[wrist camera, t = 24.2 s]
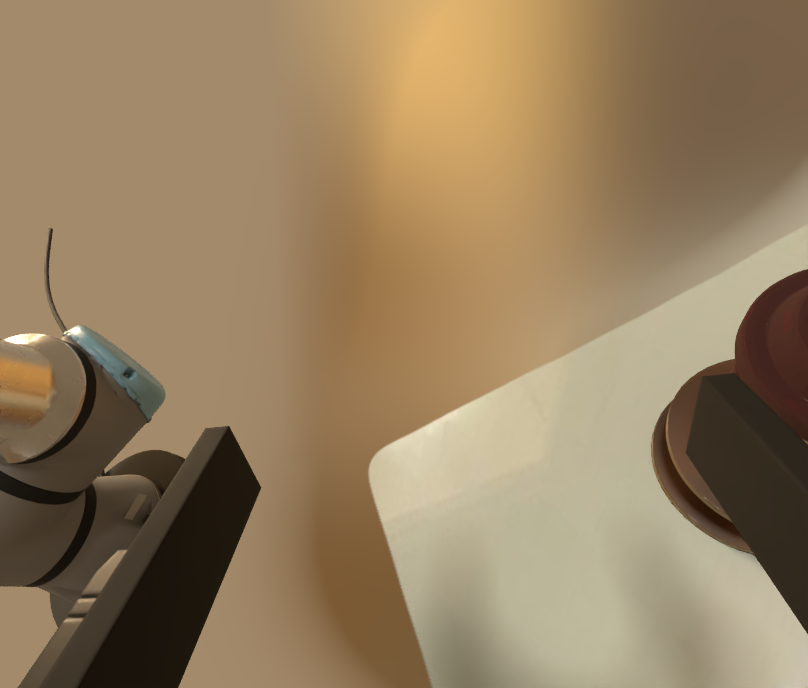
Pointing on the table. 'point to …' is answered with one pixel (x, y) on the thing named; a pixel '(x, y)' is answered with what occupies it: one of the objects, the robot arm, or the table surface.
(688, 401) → the stand
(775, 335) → the coffee cup
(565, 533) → the table surface
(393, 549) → the table surface
